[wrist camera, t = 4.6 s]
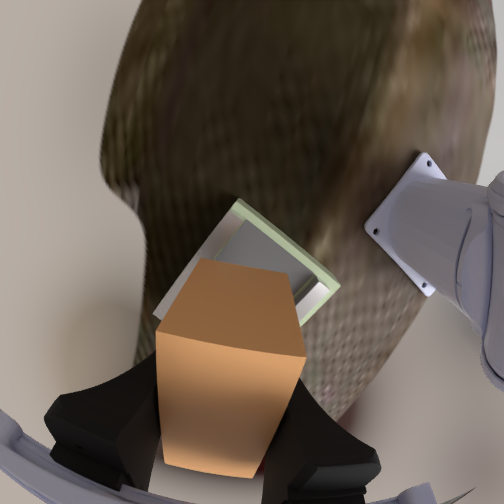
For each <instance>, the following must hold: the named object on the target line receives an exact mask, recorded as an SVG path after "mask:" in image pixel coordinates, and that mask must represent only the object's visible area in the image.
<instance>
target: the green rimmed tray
mask: <svg viewBox="0 0 504 504" xmlns="http://www.w3.org/2000/svg"><path fill="white" fill-rule="evenodd" d="M200 258H205V259H210V260H215V261H221V262H226V263H232V264H237V265H243V266H248V267H254V268H259V269H265V270H270V271H276V272H282V273H287V274H288V278H289V282H290V286H291V290H292V295H293V299H294V303H295V307H296V312H297V316H298V320H299V325H300V327H301V326H302V325H303V324H304V323H305V322H306V321H307V320H308V319H309V318H310V317H311V316H312V315H313V314H314V313H315V312H316V311H317V310H318V309H319V308H320V307H321V306H322V305H323V304H324V303H325V302H326V301H327V300H328V299H329V298H330V297H331V296H332V295H333V294H334V293H335V292H336V290H337V289H338V288H339V287H340V286H341V285H340V284H339V282H338V280H337V279H336V277H335V276H334V274H333V273H331V272H330V271H329V270H328V269H327V268H325V267H324V266H323V265H322V264H321V263H319V262H318V261H317V260H316V259H315V258H313V257H312V256H311V255H310V254H309V253H307V252H306V251H305V250H304V249H303V248H301V247H300V246H299V245H298V244H297V243H295V242H294V241H293V240H292V239H290V238H289V237H288V236H287V235H286V234H284V233H283V232H282V231H281V230H279V229H278V228H277V227H276V226H274V225H273V224H272V223H271V222H269V221H268V220H267V219H266V218H264V217H263V216H262V215H261V214H259V213H258V212H257V211H256V210H254V209H253V208H252V207H251V206H249V205H248V204H247V203H245V202H244V201H243V200H242V199H240V198H238V199H237V201H236V202H235V203H234V204H233V206H232V207H231V208H230V210H229V211H228V212H227V213H226V215H225V216H224V217H223V218H222V220H221V221H220V222H219V224H218V225H217V226H216V228H215V229H214V230H213V231H212V233H211V234H210V235H209V237H208V238H207V239H206V241H205V242H204V243H203V245H202V246H201V247H200V249H199V250H198V251H197V253H196V254H195V255H194V257H193V258H192V259H191V261H190V262H189V263H188V265H187V266H186V267H185V269H184V270H183V271H182V273H181V274H180V275H179V277H178V278H177V280H176V281H175V282H174V284H173V285H172V287H171V288H170V289H169V291H168V292H167V293H166V295H165V296H164V298H163V299H162V301H161V302H160V304H159V305H158V306H157V308H156V309H155V311H154V312H153V314H154V315H155V316H156V317H158V318H159V319H160V320H163V318H164V316H165V315H166V313H167V311H168V310H169V308H170V306H171V305H172V303H173V302H174V300H175V298H176V297H177V295H178V293H179V292H180V290H181V288H182V287H183V285H184V284H185V282H186V280H187V279H188V277H189V276H190V274H191V272H192V271H193V269H194V268H195V266H196V264H197V263H198V261H199V260H200Z"/></svg>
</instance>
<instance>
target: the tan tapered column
mask: <svg viewBox="0 0 504 504" xmlns="http://www.w3.org/2000/svg"><path fill="white" fill-rule="evenodd" d="M306 358H307V356H306V352H305V347H304V342H303V338H302V334H301V329H300V325H299V320H298V316H297V312H296V307H295V303H294V299H293V295H292V290H291V286H290V282H289V278H288V274H287V273H282V272H276V271H270V270H265V269H259V268H254V267H248V266H243V265H237V264H232V263H226V262H221V261H215V260H210V259H205V258H200V260H199V261H198V263H197V264H196V266H195V268H194V269H193V271H192V272H191V274H190V276H189V277H188V279H187V280H186V282H185V284H184V285H183V287H182V288H181V290H180V292H179V293H178V295H177V297H176V298H175V300H174V302H173V303H172V305H171V306H170V308H169V310H168V311H167V313H166V315H165V316H164V318H163V320H162V321H161V323H160V325H159V326H158V328H157V330H156V364H157V387H158V403H159V415H160V426H161V435H162V444H163V452H164V459H165V463H166V464H170V465H174V466H178V467H182V468H187V469H192V470H196V471H202V472H207V473H213V474H219V475H226V476H234V477H243V478H253V476H254V474H255V472H256V470H257V468H258V466H259V464H260V462H261V460H262V458H263V456H264V454H265V453H266V451H267V448H268V446H269V444H270V442H271V440H272V438H273V436H274V434H275V432H276V430H277V428H278V425H279V423H280V421H281V419H282V417H283V414H284V412H285V410H286V407H287V405H288V403H289V401H290V398H291V396H292V393H293V391H294V389H295V386H296V384H297V381H298V379H299V376H300V374H301V371H302V369H303V366H304V364H305V361H306Z"/></svg>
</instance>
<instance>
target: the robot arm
mask: <svg viewBox="0 0 504 504" xmlns="http://www.w3.org/2000/svg"><path fill="white" fill-rule="evenodd" d="M427 161H428V162H429V166H427ZM376 228H377V233H376V234H373V231H374V229H376ZM364 229H365V231H366V232H367V233H368V234H369V235H370V236H371V237H372V238H373V239H374V240H375V241H376V242H377V243H378V244H379V245H380V246H381V247H382V248H383V249H384V250H385V251H386V252H387V254H388V255H389V256H390V257H391V258H392V259H393V260H394V261H395V262H396V263H397V264H398V265H399V266H400V267H401V269H402V270H403V271H404V272H405V273H406V274H407V275H408V276H409V277H410V279H411V280H412V281H413V282H414V283H415V284H416V285H417V286H418V288H419V289H420V290H421V291H422V292H423V293H424V294H425V295H426V296H430V295H431V294H432V293H433V292H434V291H435V290H437V291H438V292H440V293H441V294H442V295H443V296H445V297H446V298H447V299H448V300H449V301H450V302H451V303H452V304H454V305H455V306H456V307H457V308H458V309H459V310H460V311H461V312H463V313H464V314H465V315H466V316H467V317H468V318H470V319H471V328H472V329H473V330H474V331H475V332H476V333H477V334H478V335H479V336H480V337H481V338H482V343H481V348H480V359H481V365H482V368H483V371H484V373H485V375H486V377H487V378H488V379H489V380H490V382H491V383H492V384H493V385H494V386H495V387H497V388H498V389H500V390H501V391H503V392H504V171H502V172H500V173H499V174H498V175H497V176H496V178H495V179H494V180H493V181H492V182H491V183H490V184H489V186H488V187H485V186H480V185H475V184H469V183H464V182H458V181H452V180H447V179H446V177H445V176H444V174H443V173H442V172H441V170H440V169H439V168H438V166H437V165H436V164H435V162H434V161H433V160H432V159H431V157H430V156H429V155H428V154H427V153H420V154H419V155H418V157H417V158H416V159H415V161H414V162H413V163H412V165H411V166H410V167H409V169H408V170H407V171H406V173H405V174H404V175H403V177H402V178H401V179H400V181H399V182H398V183H397V184H396V186H395V187H394V188H393V189H392V191H391V192H390V193H389V195H388V196H387V197H386V198H385V199H384V201H383V202H382V203H381V204H380V206H379V207H378V208H377V209H376V211H375V212H374V213H373V214H372V215H371V217H370V218H369V219H368V220H367V221H366V223H365V225H364ZM424 282H425V283H424ZM423 283H424V285H423V286H422V284H423ZM44 421H45V424H46V426H47V428H48V429H49V431H50V433H51V434H52V436H53V437H54V439H55V441H56V443H55V445H54V447H53V449H52V450H50V449H49V448H47V447H45V446H44V445H42V444H40V443H39V442H37V441H36V440H34V439H33V438H31V437H30V436H28V435H27V434H25V433H24V432H23V431H22V429H21V427H20V426H19V425H18V423H17V422H16V421H15V420H14V419H12V418H11V417H10V416H8V415H7V414H5V413H4V412H3V411H2V410H1V409H0V469H1V470H2V471H3V472H4V473H6V474H7V475H8V476H9V477H11V478H12V479H13V480H14V481H16V482H17V483H18V484H19V485H21V486H22V487H24V488H25V489H26V490H28V491H29V492H31V493H32V494H33V495H35V496H36V497H38V498H39V499H41V500H42V501H44V502H46V503H47V504H194V503H189V502H184V501H179V500H175V499H171V498H167V497H163V496H159V495H156V494H152V493H149V492H148V487H149V482H150V477H151V472H152V468H153V463H154V459H155V455H156V451H157V447H158V443H159V439H160V435H161V426H160V415H159V403H158V387H157V364H156V350H155V351H154V352H153V353H152V354H150V355H149V356H148V357H147V358H145V359H144V360H143V361H141V362H140V363H139V364H137V365H136V366H134V367H133V368H131V369H130V370H128V371H126V372H125V373H123V374H121V375H119V376H118V377H116V378H114V379H111V380H110V381H107V382H105V383H103V384H100V385H98V386H95V387H92V388H89V389H85V390H82V391H78V392H73V393H68V394H63V395H60V396H59V397H58V398H57V399H56V400H55V401H54V403H53V404H52V406H51V407H50V409H49V410H48V411H47V413H46V414H45V416H44ZM380 471H381V465H380V461H379V458H378V455H377V453H376V450H375V449H374V448H372V447H370V446H368V445H367V444H365V443H363V442H361V441H360V440H358V439H357V438H355V437H354V436H352V435H351V434H350V433H348V432H347V431H346V430H344V429H343V428H342V427H341V426H340V425H338V424H337V423H336V422H335V421H334V420H333V419H332V418H331V417H330V416H329V415H328V414H327V413H326V412H325V411H324V410H323V409H322V408H321V407H320V406H319V404H318V403H317V402H316V401H315V400H314V398H313V397H312V395H311V394H310V393H309V391H308V390H307V388H306V387H305V385H304V384H303V382H302V381H301V379H300V377H299V379H298V381H297V384H296V386H295V389H294V391H293V393H292V396H291V398H290V401H289V403H288V405H287V407H286V410H285V412H284V414H283V417H282V419H281V421H280V423H279V425H278V428H277V430H276V432H275V434H274V436H273V438H272V440H271V442H270V444H269V446H268V448H267V451H266V458H265V472H264V484H263V494H262V502H261V504H365V500H364V495H363V494H366V492H367V491H366V487H365V485H367V484H368V483H369V482H370V481H371V480H372V479H374V478H375V477H376V476H377V475H378V474H379V473H380ZM367 504H437V503H436V500H435V497H434V494H433V491H432V489H431V486H430V483H429V482H427V483H424V484H421V485H418V486H414V487H411V488H409V489H407V490H405V491H403V492H402V493H400V494H399V495H398V496H397V497H393V498H389V499H385V500H381V501H376V502H372V503H367Z"/></svg>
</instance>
